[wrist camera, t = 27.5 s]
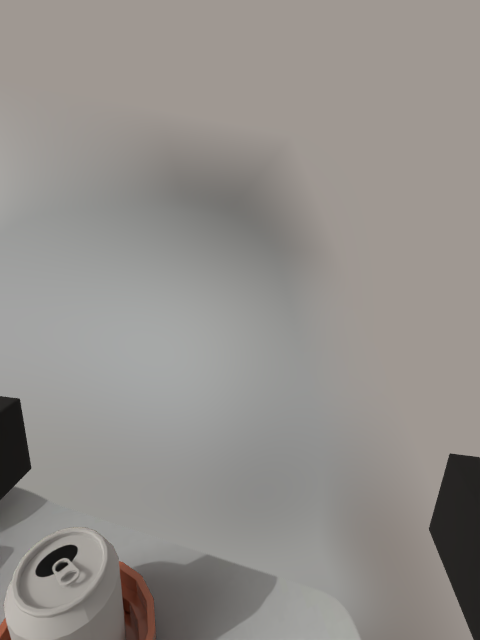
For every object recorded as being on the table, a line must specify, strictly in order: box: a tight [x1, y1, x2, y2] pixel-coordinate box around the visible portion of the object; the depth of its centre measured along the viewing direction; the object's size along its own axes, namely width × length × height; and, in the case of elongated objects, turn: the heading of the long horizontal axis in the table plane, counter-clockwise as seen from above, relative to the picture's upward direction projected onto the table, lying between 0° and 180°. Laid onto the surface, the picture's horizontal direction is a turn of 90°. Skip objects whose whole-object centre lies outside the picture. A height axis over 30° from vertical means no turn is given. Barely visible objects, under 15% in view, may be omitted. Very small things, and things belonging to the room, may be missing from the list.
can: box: [4, 527, 126, 640], centre depth 28 cm, size 8×8×12 cm
